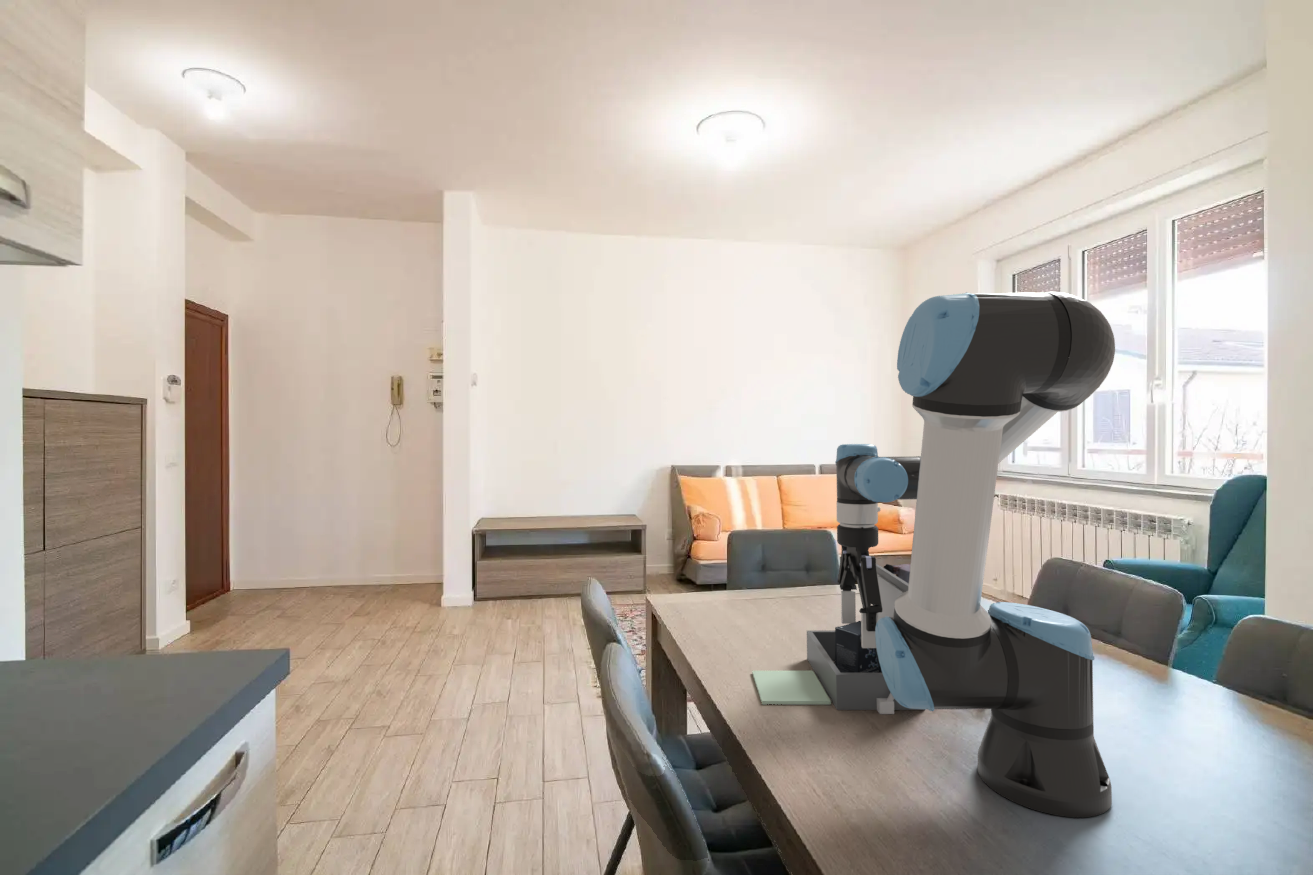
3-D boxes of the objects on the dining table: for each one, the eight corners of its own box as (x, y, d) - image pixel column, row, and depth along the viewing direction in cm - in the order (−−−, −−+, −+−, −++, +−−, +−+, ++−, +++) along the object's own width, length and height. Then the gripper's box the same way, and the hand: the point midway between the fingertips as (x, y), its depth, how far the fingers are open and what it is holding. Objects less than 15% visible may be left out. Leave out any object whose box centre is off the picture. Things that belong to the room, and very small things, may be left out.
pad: (830, 704, 106) (830, 701, 106) (762, 704, 106) (762, 700, 106) (813, 673, 120) (813, 670, 120) (752, 673, 120) (752, 670, 120)
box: (858, 691, 111) (858, 634, 111) (834, 681, 116) (833, 626, 116) (885, 681, 115) (884, 626, 115) (860, 672, 120) (860, 619, 120)
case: (934, 714, 102) (932, 595, 102) (839, 713, 102) (837, 595, 102) (882, 658, 127) (881, 563, 127) (807, 658, 128) (805, 564, 128)
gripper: (901, 535, 103) (902, 659, 103) (857, 514, 128) (858, 614, 128) (856, 536, 103) (858, 659, 104) (822, 515, 128) (823, 614, 129)
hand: (858, 634), depth 116 cm, fingers open, 13 cm apart
